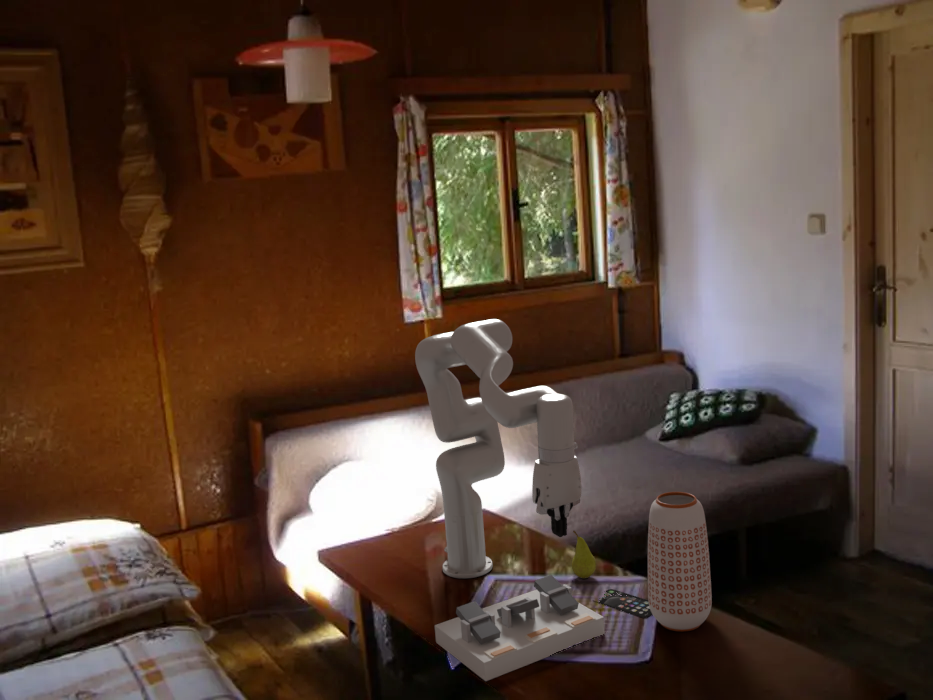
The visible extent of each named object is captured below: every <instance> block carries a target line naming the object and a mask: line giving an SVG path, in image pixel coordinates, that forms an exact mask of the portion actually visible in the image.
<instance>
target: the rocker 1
mask: <svg viewBox="0 0 933 700" xmlns="http://www.w3.org/2000/svg"><path fill="white" fill-rule="evenodd" d="M455 614H456V616H457V617H459V618H460V619H461V620H465V621H467V622H468V623H469V624H470V631H471V633H472V634H473V635H474V637H475V638H476V639H477V640H478V642H479V643H480V644H484V643H487V642H489V641H492V640H495V639H497V638H500V633H501V632H500V630H499V629H498V628H497V627H496V626H495V624H494V623H493V622H492V621H491V620H490V618H489V615H488V614H487V613H486V614H485V612H484V611H483V610H482V607H480V605H479V604H478V603H477V601H475V600H474V601H471V602H468V603H465V604H462V605H460V606H456V610H455Z"/></svg>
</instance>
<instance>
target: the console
mask: <svg viewBox="0 0 933 700" xmlns="http://www.w3.org/2000/svg"><path fill="white" fill-rule="evenodd" d="M561 585H562V586H565V587H566V590H567V591H568V592H569V593H570V594H571V596H572V597H573V592H572V591H573V589H572V587H571V586H569V585H567V584H566V583H565V584H564V583H563V584H561ZM523 599H526V601H530V600H535V599H537V600H538V603H539V607H537V608H534V609H532V610H529V611H526V612H523V613H520V614H514V615H511V609H509V608H507V607H506V605H509V604H512V603H514V602H517V601H520V600H523ZM578 603H579V604H578V609H575V610H573V611H570V612H567V613H565V614H562V615H560V614H559V613H558V612H557V611H556V610H555V609H554V608H553V607H552V606H551V604H550V601H549V595H547V594H546V593H544V592H541V593H540V592H539V591H538V590H537V589H534V590H531V591H528V592H525V593H523V594H520V595H517V596H514V597H511V598H509V599H506V600H503V601H500V602H498V603H497V602H496V603H494V604H491V605H489V606H485V607H481V609H482V610H483V611H484V612H485V614H486V613H487V614H488V615H489V618H490V620H491V621H492V622H493V623H494V624H495V626H496V627H497V628H498V629H499V630H500V632H501V633H500V638H497V639H495V640H492V641H489V642H487V643H484V644H480V643H479V642H478V640H477V639H476V638H475V637H474V635H473V634H472V633H471V631H470V624H469V623H468V622H467V621H465V620H461V619H460V618H459V617H458V616H457V617H454V618H452V619H449V620H446V621H443V622H440V623H438V624H434V633H435V642H436V644H438V645H439V647H442V649H444V650H445V651H446V652H448V653H449V654H451V656H453V658H455V659H457V660H458V662H461V663H462V665H464V666H466V668H468V669H469V670H471V672H473V673H474V674H476V675H477V676H478V677H479V678H480V679H482V680H483V681H484V682H488V681H490V680H493V679H495V678H498V677H500V676H502V675H505V674H508V673H511V672H513V671H515V670H518V669H520V668H523V667H525V666H529V665H530V664H533V663H535V662H538V661H541V660H544V659H545V658H546V659H547V658H548V657H550V655H551V656H553V655H552V654H554V653H556V652H558V651H561V650H563V649H566V648H568V647H569V646H572V645H574V644H576V643H579V642H582V641H584V640H587V639H591V638H593V637H596V636H599V637H601V636H600V635H602V636H604V635H606V633H605V617H604V616H603V615H601V614H599V613H598V612H596V611H594V610H592V609H591V608H589V607H587V606H585V605H583V604H582V603H580V602H578ZM500 608H501V612H502V617H499V615H498V612H497V609H500ZM603 634H604V635H603ZM566 650H567V649H566ZM561 652H562V651H561ZM556 654H557V653H556ZM554 655H555V654H554Z"/></svg>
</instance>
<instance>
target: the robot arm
mask: <svg viewBox="0 0 933 700" xmlns="http://www.w3.org/2000/svg"><path fill="white" fill-rule="evenodd" d="M512 344H513V334H512V331H511V328H510V327H509V326H508V325H507V324H506V322H504V321H503V320H501V319H497V318H490V319H486V320H485V319H484V320H478V321H474V322H468V323H465V324H461V325H460V326H458V327H457V328H455V330H454V331H449V332H443V333H438V334H433V335H432V336H428V337H425V338H424V339H422V340H421V341H420V342H419V343H418V344H417V346H416V348H415V353H414V357H415V365H416V366H415V367H416V369H417V372H418V374H419V376H420V378H421V381H422V383H423V385H424V387H425V391H426V393H427V394H426V395H427V399H428V405H429V410H430V414H431V420H432V424H433V428H434V432H435V435H436V437H437V439H438V440H439V441H440V442H442V443H447V444H448V443H455V442H459V441H463V440H467V439H471V438H475V442H472V443H467V444H463V445H458V446H456V447H452V448H448V449H447V450H444V451H442V452H441V453H440V454H439V456H438V457H437V459H436V462H435V470H436V474H437V478H438V481H439V485H440V490H441V497H442V505H443V514H444V515H443V517H444V525H445V539H446V546H445V547H444V552H445V553H447V559H446V560H445V561H444V562H443V563H442V572H443V573H444V574H445V575H446V576H448V577H450V578H455V579H473V578H477V577H478V578H479V577H481V576H484V575H486V574H488V573H489V572H490V571H491V570H492V569H493V566H494V565H493V563H494V562H493V561H492V559H491V558H490V557H489V556H486V555H487V554H486V542H485V540H486V539H485V530H484V528H485V527H484V515H483V503H482V499H481V496H480V495H479V493H478V492H477V491H476V490H475V489H474V488H473V484H475V483H478V482H480V481H484V480H487V479H491V478H494V477H497V476H498V475H500V474H501V473H502V472H503V471H504V469H505V465H506V464H505V463H506V462H505V461H506V459H505V452H504V448H503V442H502V438H501V433H500V427H499V425H501V426H502V427H505V428H509V429H516V428H519V427H524V426H527V425H532V424H535V423H537V424H536V425H537V426H536V427H537V430H536V431H537V452H538V459H535V461H534V464H533V465H534V466H533V473H532V484H531V486H532V491H531V492H532V493H531V494H532V502H533V504H535V505H536V509H535V511H536V513H537V514H539V515H542V516H543V515H548V517H550V522H551V523H550V524H551V525H550V527H551V529H550V530H551V532H552V534H553V535H554V536H557V537H559V538H563V537H566V536H568V518H569V516H570V513H571V510H572V509H573V507H575V506H577V505H578V504H580V503H581V497H582V478H581V472H580V471H581V470H580V464H579V461H578V458H577V456H576V453H575V450H577V449H578V448H579V444H578V443H577V442H575V433H574V429H575V428H574V407H573V406H574V405H573V401H572V398H571V397H570V396H569V395H567V394H563V393H558V392H557V391H556V390H554V389H553V388H552V387H550V386H549V385H537V386H532V387H527V388H523V389H519V390H514V391H510V392H505V391H504V389H502V388H501V387H500V385H502V383H503V382H505V381H506V380H507V378H508V377H509V376H510V374H511V373H512V370H513V367H514V361H513V357H512V356H511V354H510V353H509V350H510V349H511V347H512ZM465 365H466V366H468V368H469V370H470V369H471V370H472V372H473V373H475V375H476V376H477V377H478V378H479V387H478V391H479V396H480V397H472V398H467V399H464V398H465V397H464V395H463V392H462V391H463V390H462V386H461V383H460V381H459V379H458V378H457V377H456V376H455V375H454V373H452V371H450V370H449V369H450V368H454V367H455V368H456V367H460V366H465Z"/></svg>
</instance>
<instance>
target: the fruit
mask: <svg viewBox="0 0 933 700" xmlns="http://www.w3.org/2000/svg"><path fill="white" fill-rule="evenodd" d="M572 533H573V534H575V535H576V545H575V553H574V555H573V558H572V561H571V569H572V572H573V573H574V574H575V575H576V577H578V578H581V579H588V578H590V577H591V576H592V575H593V574H594V572H595V570H596V566H597V563H596V559H595V557H594V556H593V554H592V552H591V550H590V548H589V546H588V544H587V542H586V540H585V539H584V538H583V537H581V536H579V535H578V534H577V532H576V531H575V530H573V532H572Z"/></svg>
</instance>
